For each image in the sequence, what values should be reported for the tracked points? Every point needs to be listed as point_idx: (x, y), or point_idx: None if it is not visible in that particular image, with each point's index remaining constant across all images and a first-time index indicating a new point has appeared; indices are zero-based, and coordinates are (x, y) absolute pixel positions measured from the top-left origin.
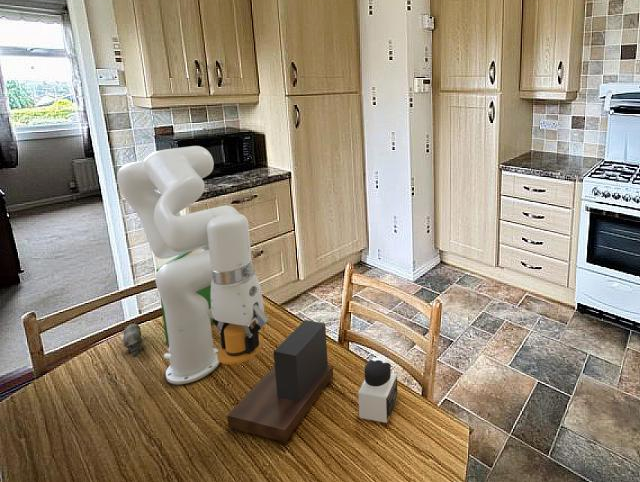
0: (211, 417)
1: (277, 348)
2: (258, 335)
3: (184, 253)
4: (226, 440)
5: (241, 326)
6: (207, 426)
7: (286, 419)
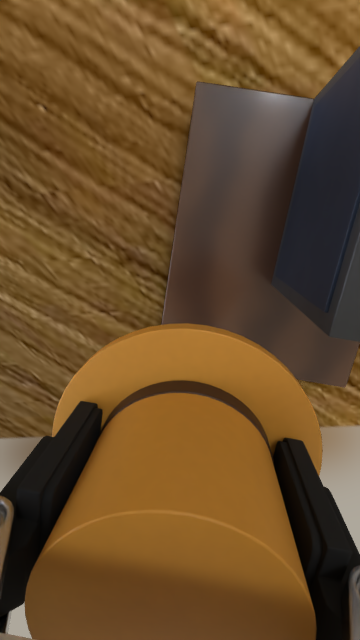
0: (92, 307)
1: (344, 313)
2: (324, 489)
3: None
4: None
5: (192, 623)
6: (102, 331)
7: (336, 358)
